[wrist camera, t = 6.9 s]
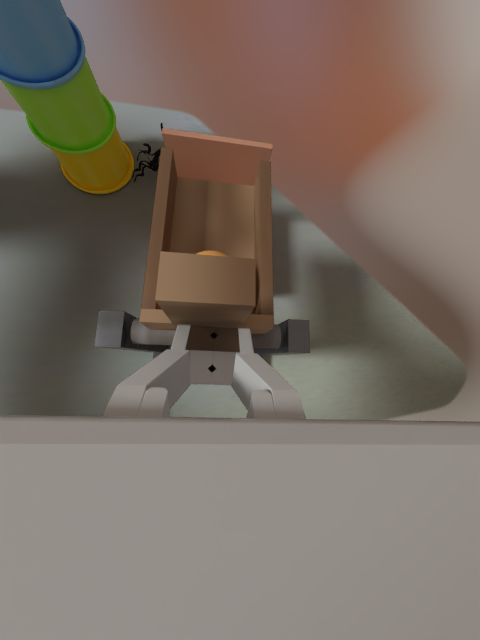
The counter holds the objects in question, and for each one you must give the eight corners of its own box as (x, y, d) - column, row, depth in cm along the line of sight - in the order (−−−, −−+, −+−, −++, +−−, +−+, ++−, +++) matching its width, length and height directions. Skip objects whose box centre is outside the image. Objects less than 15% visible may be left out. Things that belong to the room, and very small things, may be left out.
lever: (137, 345, 17) (14, 296, 6) (156, 190, 20) (97, -16, 9) (274, 349, 18) (366, 314, 7) (271, 203, 21) (332, 34, 11)
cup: (173, 293, 33) (150, 252, 20) (179, 211, 35) (162, 128, 22) (249, 297, 34) (272, 262, 22) (251, 218, 36) (272, 143, 24)
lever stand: (154, 374, 31) (87, 394, 14) (159, 314, 32) (104, 267, 16) (259, 376, 32) (311, 396, 16) (260, 319, 34) (308, 281, 17)
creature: (150, 207, 36) (193, 181, 36) (131, 185, 31) (182, 155, 30) (128, 167, 37) (170, 142, 36) (106, 139, 31) (155, 108, 31)
